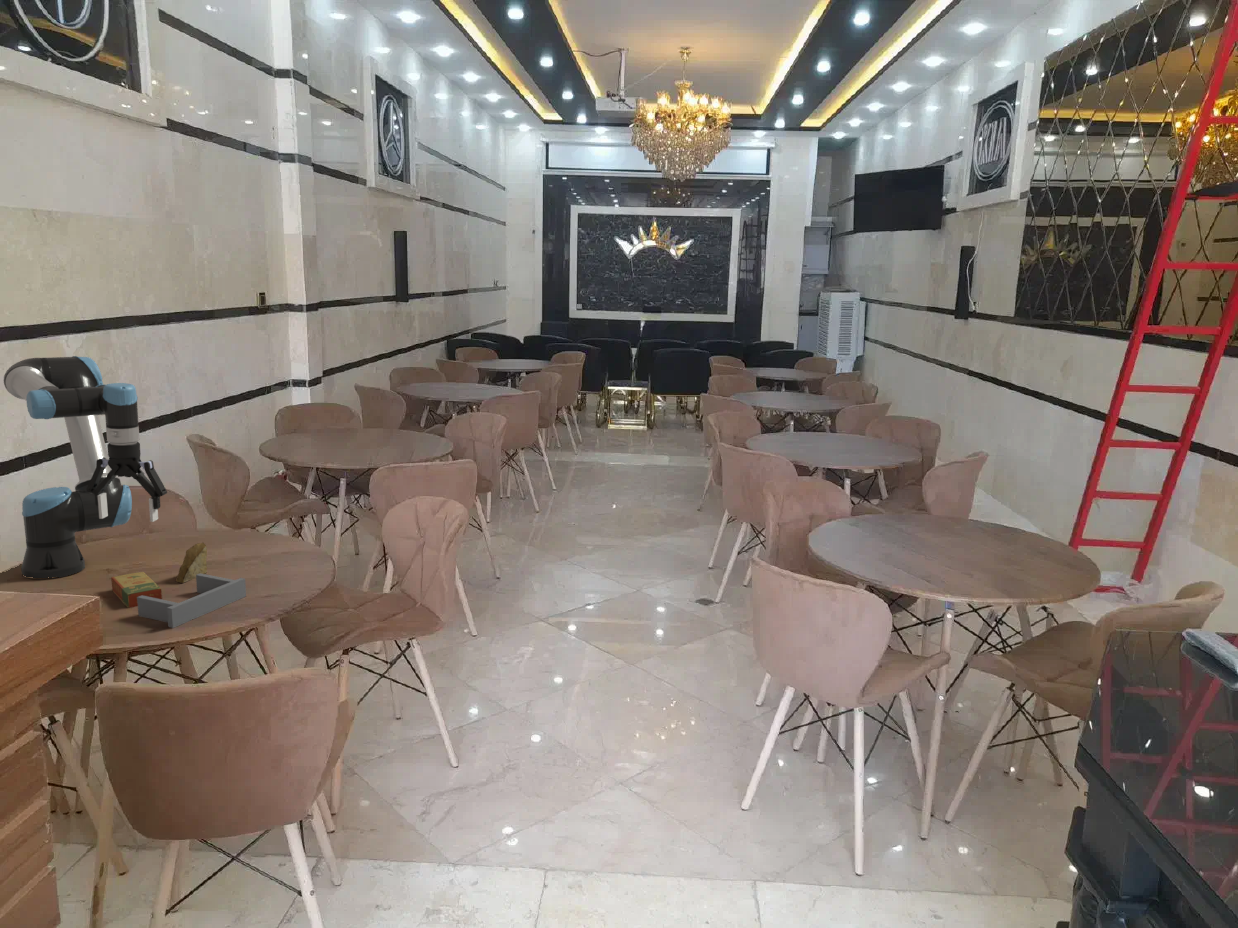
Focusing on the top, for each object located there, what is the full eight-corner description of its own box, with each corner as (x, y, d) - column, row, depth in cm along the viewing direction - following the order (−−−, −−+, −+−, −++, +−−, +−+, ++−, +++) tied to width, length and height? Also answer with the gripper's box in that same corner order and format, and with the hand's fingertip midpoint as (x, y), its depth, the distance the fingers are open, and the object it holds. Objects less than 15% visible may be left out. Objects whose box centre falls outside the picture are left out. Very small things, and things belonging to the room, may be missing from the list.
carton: (145, 585, 238) (144, 570, 238) (163, 602, 227) (162, 587, 226) (111, 591, 233) (110, 576, 232) (128, 609, 221) (127, 593, 221)
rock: (182, 579, 237) (217, 566, 244) (168, 552, 238) (204, 540, 245) (173, 592, 244) (207, 579, 251) (160, 566, 245) (194, 554, 252)
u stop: (131, 618, 215) (130, 599, 214) (207, 588, 237) (206, 571, 236) (173, 627, 210) (171, 608, 209) (246, 596, 232) (245, 578, 231)
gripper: (67, 442, 224) (74, 520, 229) (163, 448, 225) (168, 525, 230) (84, 436, 232) (90, 512, 237) (177, 442, 232) (182, 517, 237)
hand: (129, 518), depth 233 cm, fingers open, 13 cm apart
